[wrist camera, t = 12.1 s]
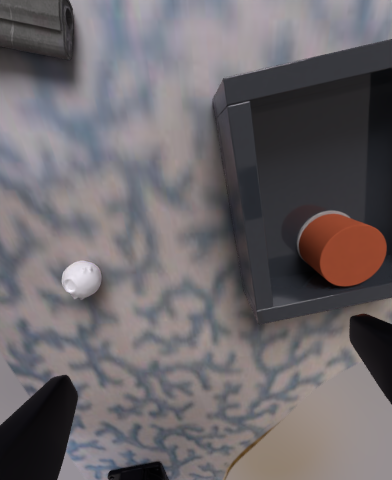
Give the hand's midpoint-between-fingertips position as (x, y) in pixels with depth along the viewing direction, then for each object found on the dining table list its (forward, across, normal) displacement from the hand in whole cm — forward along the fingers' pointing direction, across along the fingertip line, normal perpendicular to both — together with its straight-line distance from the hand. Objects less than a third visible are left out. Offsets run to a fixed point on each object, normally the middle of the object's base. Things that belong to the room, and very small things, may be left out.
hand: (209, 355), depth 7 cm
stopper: (+11, -10, +2) cm, 15 cm away
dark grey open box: (+12, -10, -2) cm, 16 cm away
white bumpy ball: (+12, +9, +1) cm, 15 cm away
